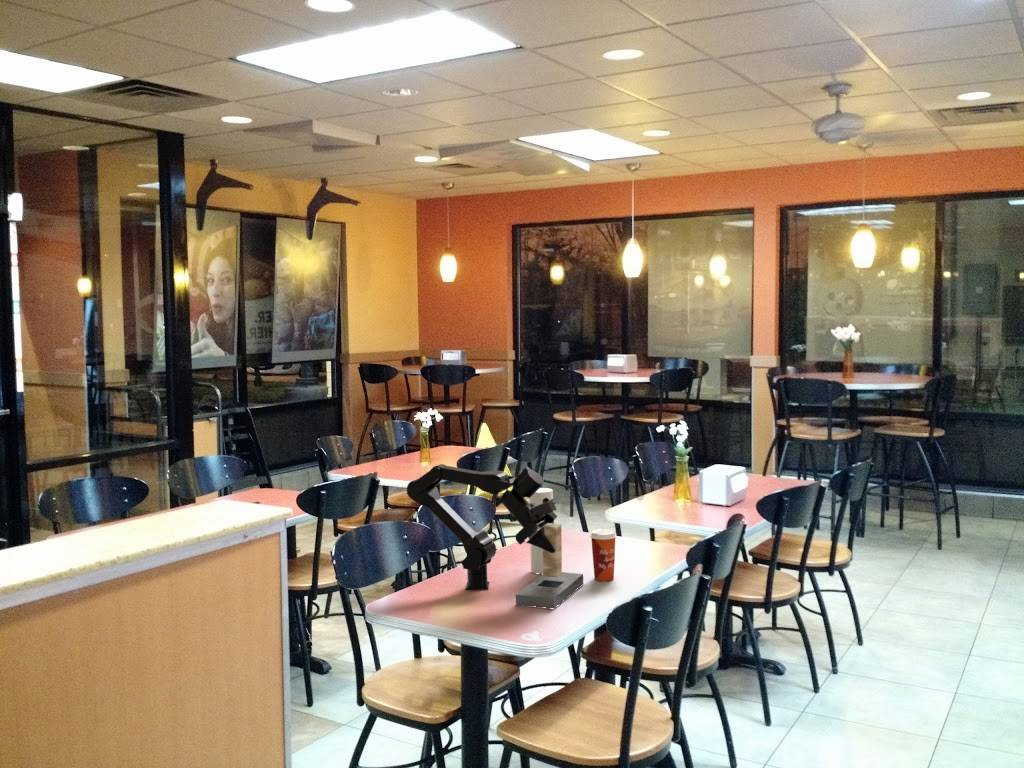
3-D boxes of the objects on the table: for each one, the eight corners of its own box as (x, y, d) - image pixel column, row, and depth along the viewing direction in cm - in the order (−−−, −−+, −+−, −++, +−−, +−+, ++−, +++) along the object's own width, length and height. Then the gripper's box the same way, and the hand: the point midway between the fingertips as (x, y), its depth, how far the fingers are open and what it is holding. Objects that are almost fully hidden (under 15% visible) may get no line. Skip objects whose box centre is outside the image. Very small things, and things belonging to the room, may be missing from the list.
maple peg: (543, 576, 254) (542, 526, 253) (548, 572, 258) (547, 523, 257) (556, 577, 252) (556, 527, 251) (561, 573, 256) (561, 524, 255)
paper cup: (604, 584, 264) (603, 536, 263) (585, 578, 270) (584, 531, 269) (623, 578, 269) (622, 531, 268) (604, 573, 275) (603, 527, 274)
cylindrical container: (558, 572, 277) (556, 491, 275) (536, 575, 275) (534, 493, 273) (548, 566, 284) (546, 487, 282) (527, 569, 281) (525, 489, 279)
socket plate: (515, 605, 247) (515, 594, 247) (547, 580, 269) (547, 570, 269) (554, 609, 243) (553, 598, 242) (583, 584, 265) (583, 574, 264)
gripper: (525, 495, 246) (564, 539, 243) (550, 483, 263) (587, 524, 260) (499, 522, 250) (537, 566, 246) (525, 508, 267) (561, 549, 264)
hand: (556, 550), depth 254 cm, fingers closed on maple peg, 4 cm apart
